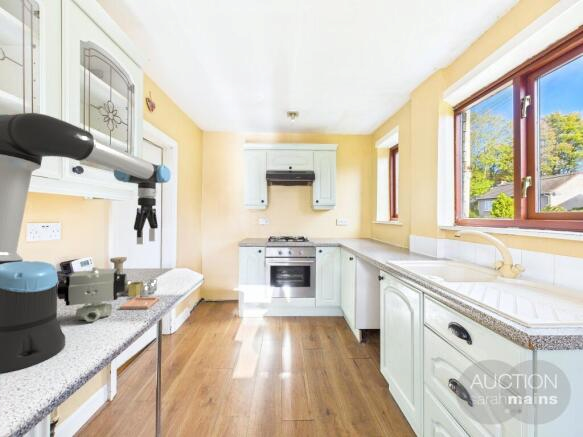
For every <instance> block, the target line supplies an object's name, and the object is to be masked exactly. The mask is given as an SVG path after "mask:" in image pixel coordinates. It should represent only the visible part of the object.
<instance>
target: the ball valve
mask: <svg viewBox="0 0 583 437" xmlns="http://www.w3.org/2000/svg"><path fill="white" fill-rule="evenodd" d="M98 268H99V267H98V266H93V267H92V268H91V270H80V271H71V272H70V273H69V274H68V275H66V276H65V277H64V278H61V279H60V280H58V283H57V300H58V299H59V300H63V301H64V302H65V306H67V307H68V306H75V305H76V306H77V305H82V306H81V307H80V306H79V307H77V308H76V312H75V319H76V320H77V321H79V320H82V321H86V322H87V323H89V322H91V323H92V322H95V321H97V320H99V319H100V318H106V317H107V316H110V315H112V307H113V306H112V303H106V302H109V301H116V300H117V301H118V298H119V297H118V296H119V294H120V293H123V294H126V293H125V292H126V287H127V280H128V278H127V273H123V274H122V273H121V272H120V269H114V268H109V269H108V268H107V269H98ZM102 302H103V303H102ZM83 304H84V305H83Z"/></svg>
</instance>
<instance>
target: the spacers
mask: <svg viewBox="0 0 583 437" xmlns="http://www.w3.org/2000/svg"><path fill="white" fill-rule="evenodd" d="M129 283H132V280H131V279H127V287H126V292H125V293H120V294H119V296H118V298H119V297H120V298H121V297H123V296H124V294H126V293H127V294H128V285H129ZM157 283H158V279H157V278H153V279H149V281H148V282H147V283H146V285H144V284H143V286H141V287H140V295H139V296H140V297H149V295H154V294H155V292H156V291H157V288H158V284H157Z"/></svg>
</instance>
